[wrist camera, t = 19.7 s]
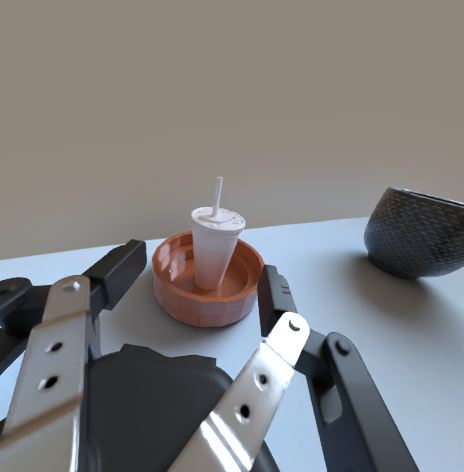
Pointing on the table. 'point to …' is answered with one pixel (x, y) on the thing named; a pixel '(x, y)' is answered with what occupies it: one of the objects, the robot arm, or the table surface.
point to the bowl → (195, 298)
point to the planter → (416, 234)
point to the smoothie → (214, 241)
